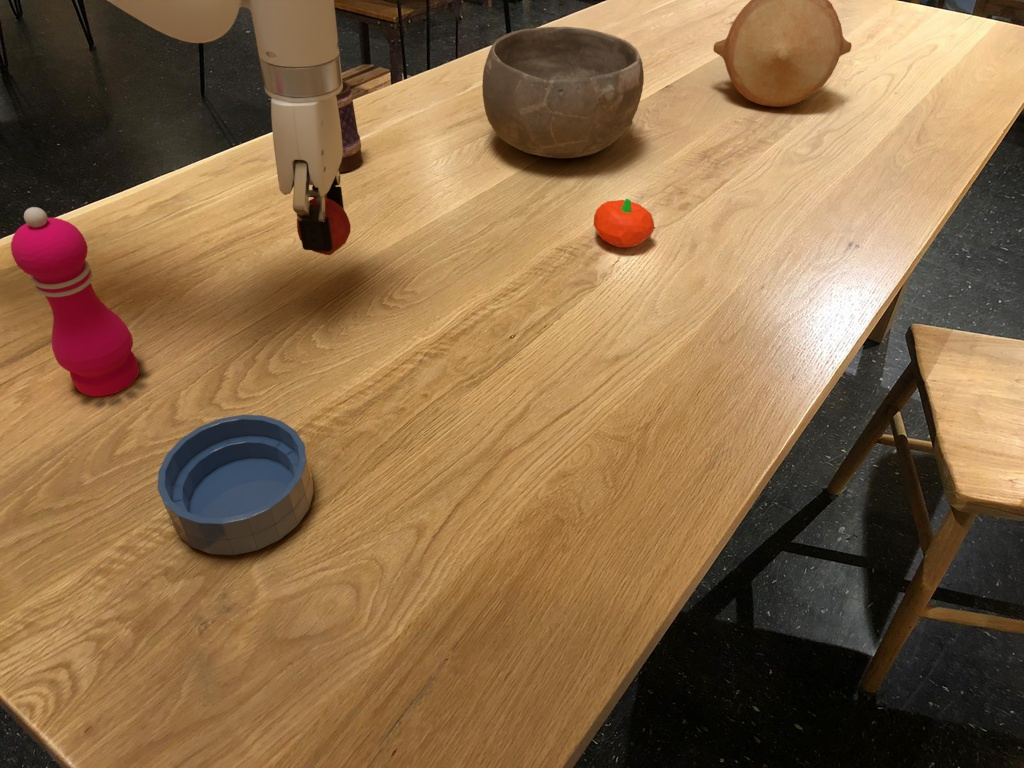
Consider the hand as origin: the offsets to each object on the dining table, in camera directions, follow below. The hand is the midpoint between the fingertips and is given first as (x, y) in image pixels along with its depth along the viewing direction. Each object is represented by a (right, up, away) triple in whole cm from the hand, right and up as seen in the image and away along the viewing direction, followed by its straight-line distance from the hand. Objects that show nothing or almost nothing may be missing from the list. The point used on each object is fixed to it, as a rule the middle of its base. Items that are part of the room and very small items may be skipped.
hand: (324, 231), depth 86 cm
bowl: (+29, +21, +36) cm, 50 cm away
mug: (-6, +15, +29) cm, 33 cm away
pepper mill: (-21, -17, -6) cm, 28 cm away
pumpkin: (+36, +2, +16) cm, 39 cm away
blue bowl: (-3, -28, -17) cm, 33 cm away
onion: (0, -2, +2) cm, 3 cm away
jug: (+70, +38, +56) cm, 97 cm away
